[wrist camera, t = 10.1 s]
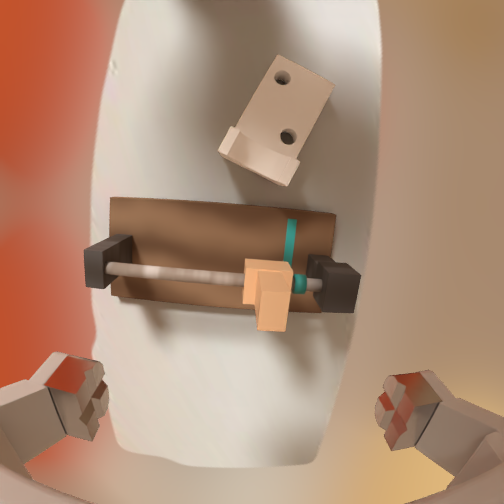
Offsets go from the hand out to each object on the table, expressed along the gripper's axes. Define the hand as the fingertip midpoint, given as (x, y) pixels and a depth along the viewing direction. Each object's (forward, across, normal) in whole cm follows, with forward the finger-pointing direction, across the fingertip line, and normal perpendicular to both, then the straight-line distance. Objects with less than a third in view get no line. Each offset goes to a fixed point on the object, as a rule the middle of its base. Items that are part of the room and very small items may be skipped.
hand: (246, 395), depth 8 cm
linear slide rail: (+28, +2, +4) cm, 29 cm away
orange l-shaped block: (+21, -3, +4) cm, 22 cm away
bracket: (+30, -3, -12) cm, 32 cm away
